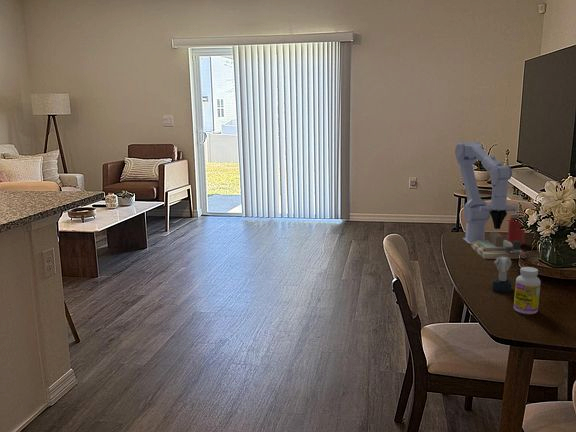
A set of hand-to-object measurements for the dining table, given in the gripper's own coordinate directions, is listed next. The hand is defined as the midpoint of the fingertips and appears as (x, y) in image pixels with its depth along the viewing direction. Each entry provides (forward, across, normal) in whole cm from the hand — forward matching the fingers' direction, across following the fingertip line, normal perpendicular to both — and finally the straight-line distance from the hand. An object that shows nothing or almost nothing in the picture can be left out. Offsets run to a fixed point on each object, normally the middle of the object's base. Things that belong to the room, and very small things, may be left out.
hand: (496, 228), depth 220 cm
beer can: (+10, +12, +11) cm, 19 cm away
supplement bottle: (+10, -12, -64) cm, 66 cm away
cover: (+7, 0, 0) cm, 7 cm away
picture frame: (+9, 0, -2) cm, 10 cm away
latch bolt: (+6, +4, -11) cm, 13 cm away
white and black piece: (+10, -13, -46) cm, 49 cm away
